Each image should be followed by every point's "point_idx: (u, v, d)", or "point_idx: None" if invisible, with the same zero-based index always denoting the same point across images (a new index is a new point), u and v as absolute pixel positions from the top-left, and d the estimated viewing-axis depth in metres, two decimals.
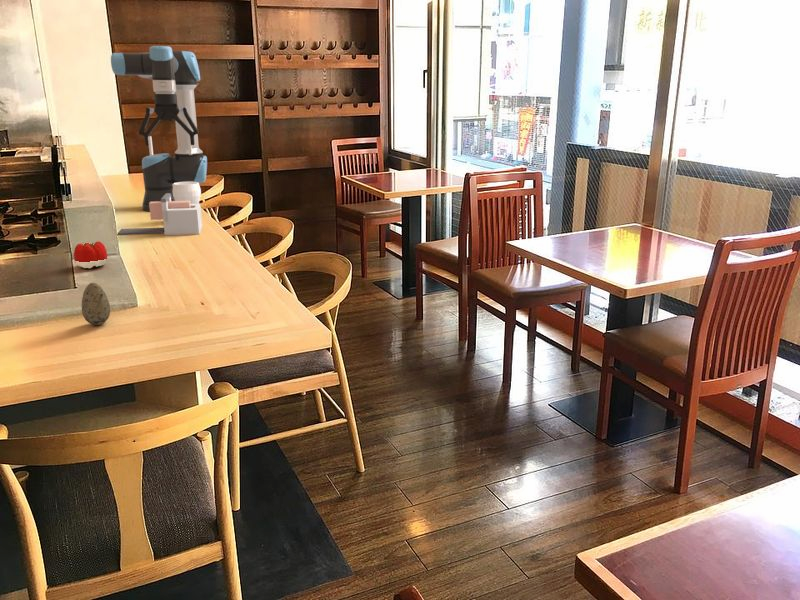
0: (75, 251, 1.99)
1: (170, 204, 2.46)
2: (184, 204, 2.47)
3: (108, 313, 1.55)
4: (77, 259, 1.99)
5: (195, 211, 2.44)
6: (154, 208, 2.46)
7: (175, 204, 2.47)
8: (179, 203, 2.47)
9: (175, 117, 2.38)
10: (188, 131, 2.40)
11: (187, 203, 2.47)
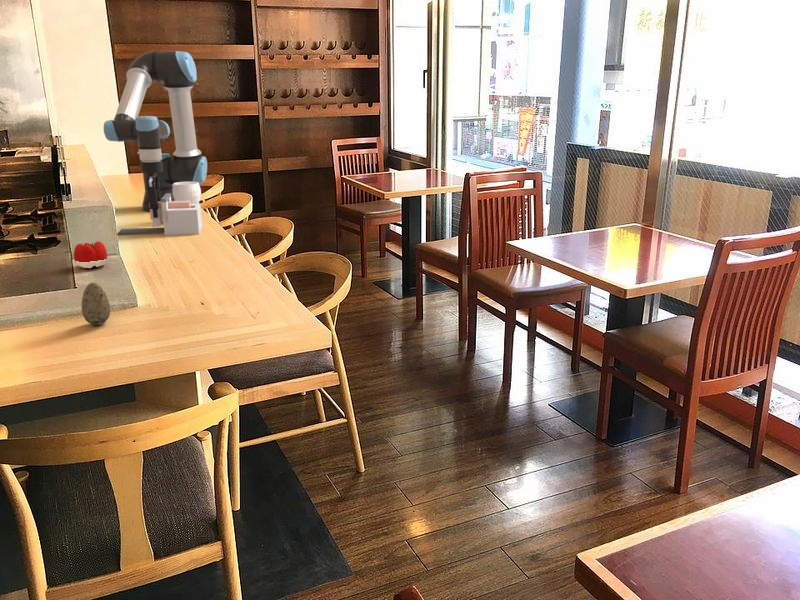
0: (75, 251, 1.99)
1: (170, 204, 2.46)
2: (184, 204, 2.47)
3: (108, 313, 1.55)
4: (77, 259, 1.99)
5: (195, 211, 2.44)
6: None
7: (175, 204, 2.47)
8: (179, 203, 2.47)
9: None
10: None
11: (187, 203, 2.47)
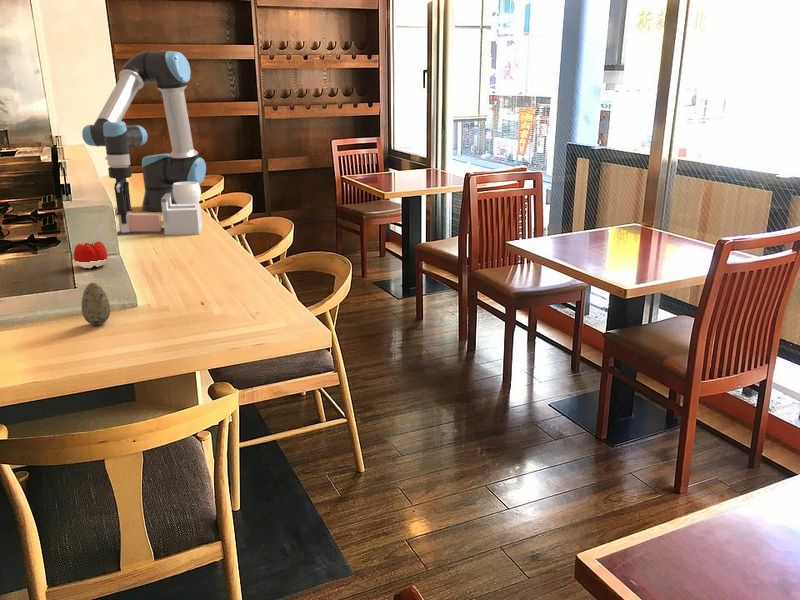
0: (75, 251, 1.99)
1: (139, 216, 2.45)
2: (154, 217, 2.46)
3: (108, 313, 1.55)
4: (77, 259, 1.99)
5: (195, 211, 2.44)
6: None
7: (145, 217, 2.46)
8: (149, 216, 2.46)
9: None
10: None
11: (157, 216, 2.46)
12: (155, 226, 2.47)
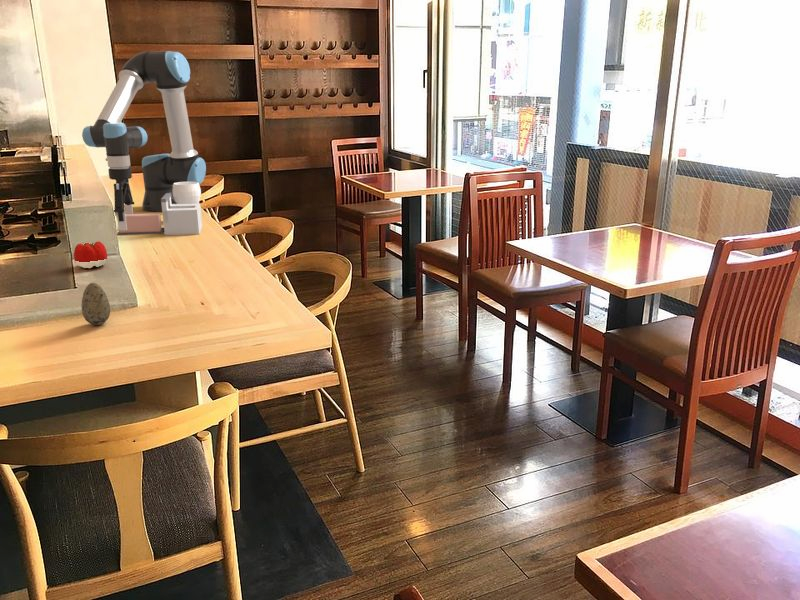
0: (75, 251, 1.99)
1: (139, 217, 2.45)
2: (153, 217, 2.46)
3: (108, 313, 1.55)
4: (77, 259, 1.99)
5: (195, 211, 2.44)
6: None
7: (144, 217, 2.46)
8: (148, 216, 2.46)
9: None
10: None
11: (156, 216, 2.46)
12: (155, 226, 2.47)
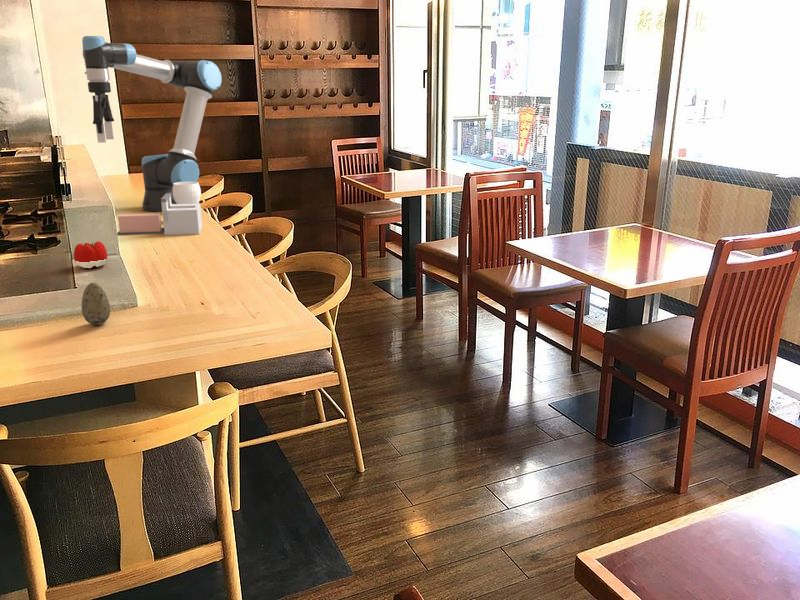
0: (75, 251, 1.99)
1: (139, 217, 2.45)
2: (153, 217, 2.46)
3: (108, 313, 1.55)
4: (77, 259, 1.99)
5: (195, 211, 2.44)
6: (123, 221, 2.45)
7: (144, 217, 2.46)
8: (148, 216, 2.46)
9: None
10: None
11: (156, 216, 2.46)
12: (155, 226, 2.47)
